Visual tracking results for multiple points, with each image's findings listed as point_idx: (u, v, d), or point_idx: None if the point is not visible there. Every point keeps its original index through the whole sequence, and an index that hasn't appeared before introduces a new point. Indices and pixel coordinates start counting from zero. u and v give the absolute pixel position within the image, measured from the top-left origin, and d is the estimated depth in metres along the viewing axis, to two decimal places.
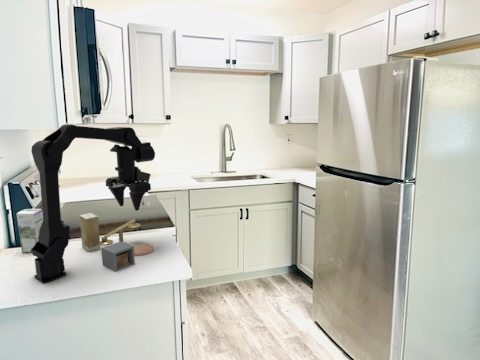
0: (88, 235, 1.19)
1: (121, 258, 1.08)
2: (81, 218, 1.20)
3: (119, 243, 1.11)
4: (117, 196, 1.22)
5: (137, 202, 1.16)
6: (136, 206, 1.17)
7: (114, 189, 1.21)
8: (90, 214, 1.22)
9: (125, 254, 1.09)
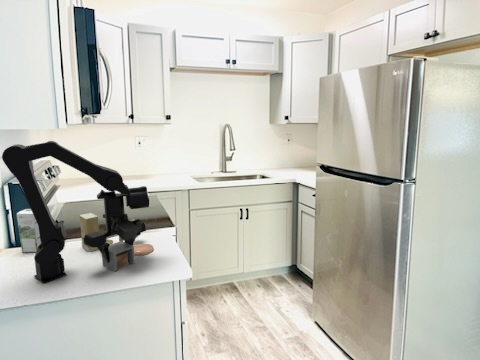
0: None
1: (121, 258, 1.08)
2: (81, 218, 1.20)
3: (119, 243, 1.11)
4: (125, 242, 1.12)
5: (103, 254, 1.05)
6: (104, 257, 1.06)
7: None
8: (90, 214, 1.22)
9: (125, 254, 1.09)
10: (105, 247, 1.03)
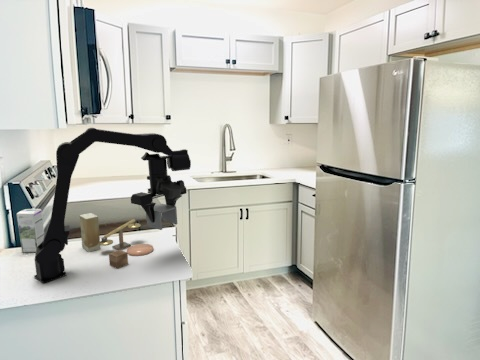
0: (88, 235, 1.19)
1: (121, 258, 1.08)
2: (81, 218, 1.20)
3: (161, 205, 1.16)
4: (167, 204, 1.17)
5: (148, 213, 1.10)
6: (149, 217, 1.11)
7: (165, 196, 1.17)
8: (90, 214, 1.22)
9: (125, 254, 1.09)
10: (151, 206, 1.07)
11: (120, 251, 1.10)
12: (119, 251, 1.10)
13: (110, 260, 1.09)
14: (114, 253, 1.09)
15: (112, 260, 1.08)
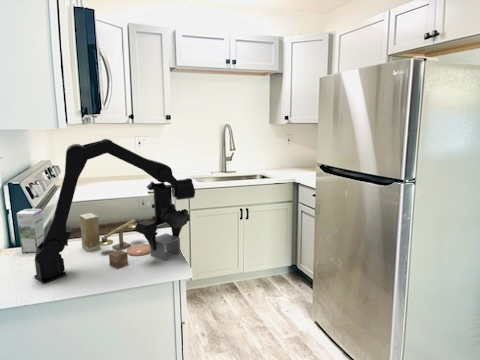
0: (88, 235, 1.19)
1: (121, 258, 1.08)
2: (81, 218, 1.20)
3: (165, 235, 1.18)
4: (172, 231, 1.20)
5: (150, 242, 1.12)
6: (151, 246, 1.12)
7: None
8: (90, 214, 1.22)
9: (125, 254, 1.09)
10: (153, 236, 1.09)
11: (120, 251, 1.10)
12: (119, 251, 1.10)
13: (110, 260, 1.09)
14: (114, 253, 1.09)
15: (112, 260, 1.08)
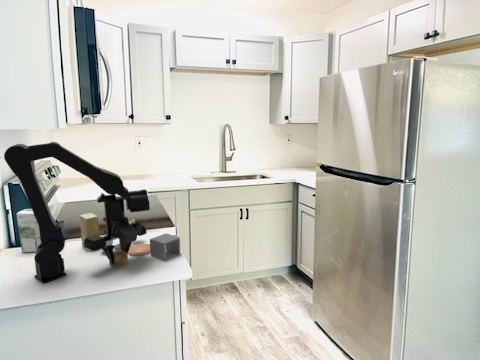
0: (88, 235, 1.19)
1: (121, 258, 1.08)
2: (81, 218, 1.20)
3: (165, 235, 1.18)
4: (121, 247, 1.11)
5: (108, 255, 1.07)
6: (109, 259, 1.07)
7: None
8: (90, 214, 1.22)
9: (125, 254, 1.09)
10: (110, 249, 1.04)
11: (120, 251, 1.10)
12: (119, 251, 1.10)
13: None
14: (114, 253, 1.09)
15: None
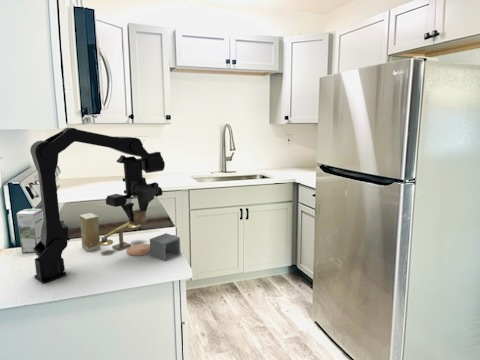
0: (88, 235, 1.19)
1: (140, 216, 1.16)
2: (81, 218, 1.20)
3: (165, 235, 1.18)
4: (140, 207, 1.19)
5: (127, 213, 1.15)
6: (128, 217, 1.15)
7: (138, 199, 1.20)
8: (90, 214, 1.22)
9: (143, 212, 1.17)
10: (130, 206, 1.12)
11: (138, 210, 1.18)
12: (138, 210, 1.18)
13: None
14: (133, 211, 1.17)
15: None
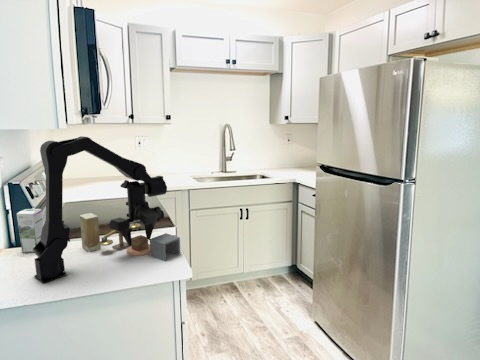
0: (88, 235, 1.19)
1: (142, 242, 1.19)
2: (81, 218, 1.20)
3: (165, 235, 1.18)
4: (145, 228, 1.23)
5: (126, 238, 1.16)
6: (127, 241, 1.17)
7: None
8: (90, 214, 1.22)
9: (146, 239, 1.19)
10: (128, 231, 1.13)
11: (141, 236, 1.21)
12: (140, 236, 1.21)
13: (132, 244, 1.19)
14: (136, 238, 1.19)
15: (133, 243, 1.19)
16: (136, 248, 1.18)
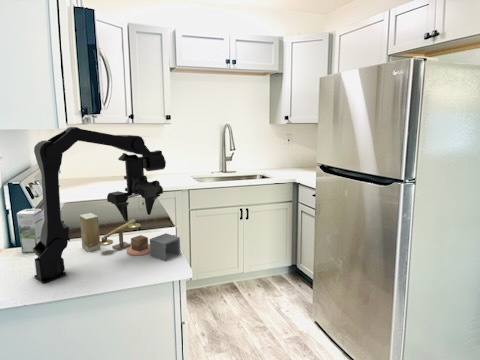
0: (88, 235, 1.19)
1: (142, 242, 1.19)
2: (81, 218, 1.20)
3: (165, 235, 1.18)
4: (146, 203, 1.22)
5: (122, 212, 1.14)
6: (123, 216, 1.14)
7: None
8: (90, 214, 1.22)
9: (146, 239, 1.19)
10: (124, 205, 1.11)
11: (141, 236, 1.21)
12: (140, 236, 1.21)
13: (132, 244, 1.19)
14: (136, 238, 1.19)
15: (133, 243, 1.19)
16: (136, 248, 1.18)
